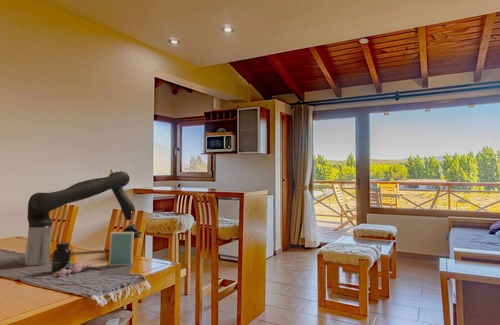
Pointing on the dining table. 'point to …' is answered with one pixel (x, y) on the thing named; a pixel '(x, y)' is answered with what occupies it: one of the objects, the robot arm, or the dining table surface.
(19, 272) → the dining table surface
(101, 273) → the mat
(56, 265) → the supplement bottle
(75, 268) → the rabbit figure
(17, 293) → the dining table surface
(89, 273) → the dining table surface
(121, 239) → the tile
